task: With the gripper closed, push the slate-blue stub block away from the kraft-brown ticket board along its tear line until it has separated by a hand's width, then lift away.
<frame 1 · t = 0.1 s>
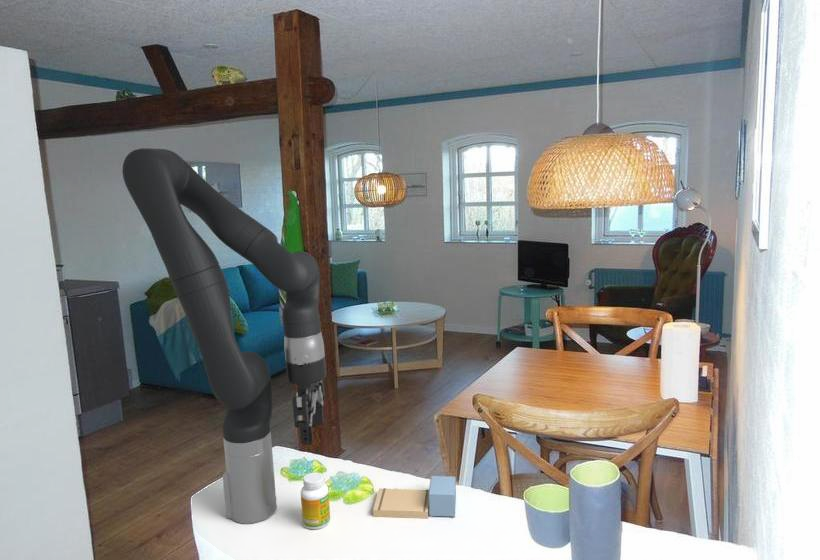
hand: (313, 433, 118), 17 cm above the counter, tool pointing down, fingers open, 8 cm apart
stub: (442, 495, 121), point 3 cm above the counter, slide at 0.0 cm
supplement bottle: (316, 523, 118), on the counter
ticket board: (402, 506, 122), on the counter
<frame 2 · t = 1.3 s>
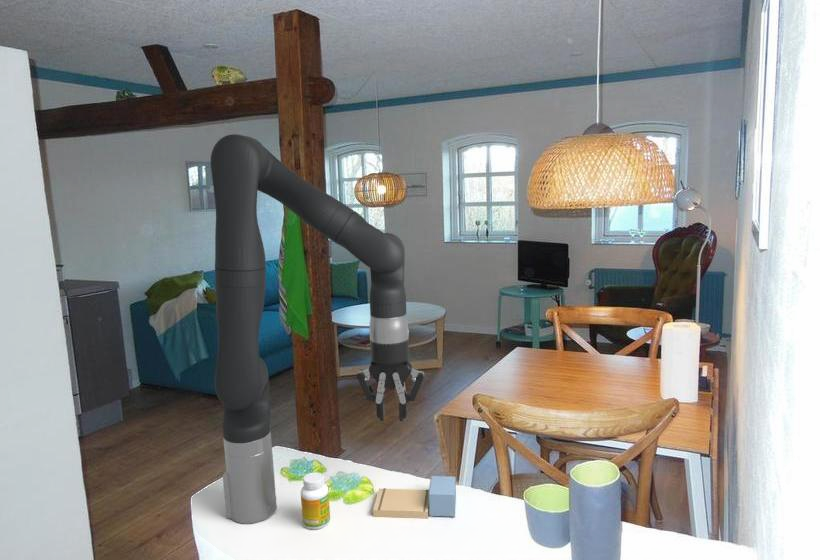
hand: (392, 419, 119), 19 cm above the counter, tool pointing down, fingers open, 3 cm apart
nothing on the counter moved.
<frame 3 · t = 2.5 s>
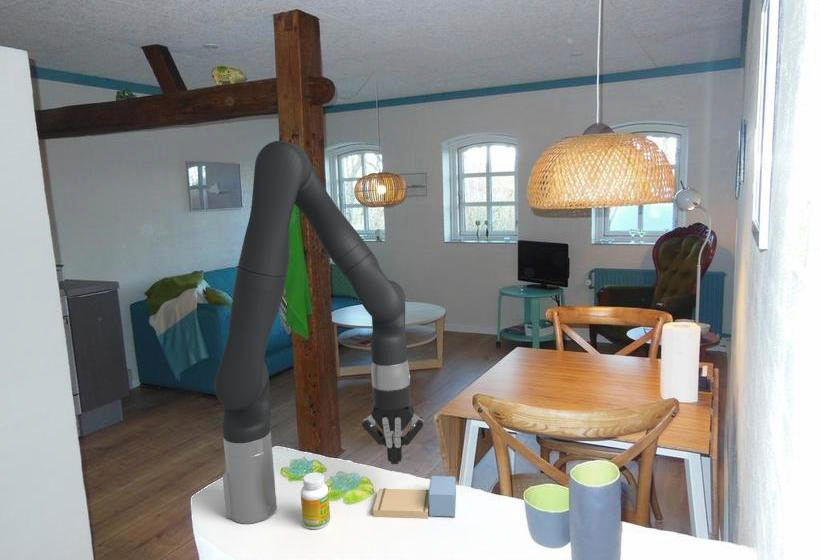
hand: (395, 462, 121), 10 cm above the counter, tool pointing down, fingers closed
nothing on the counter moved.
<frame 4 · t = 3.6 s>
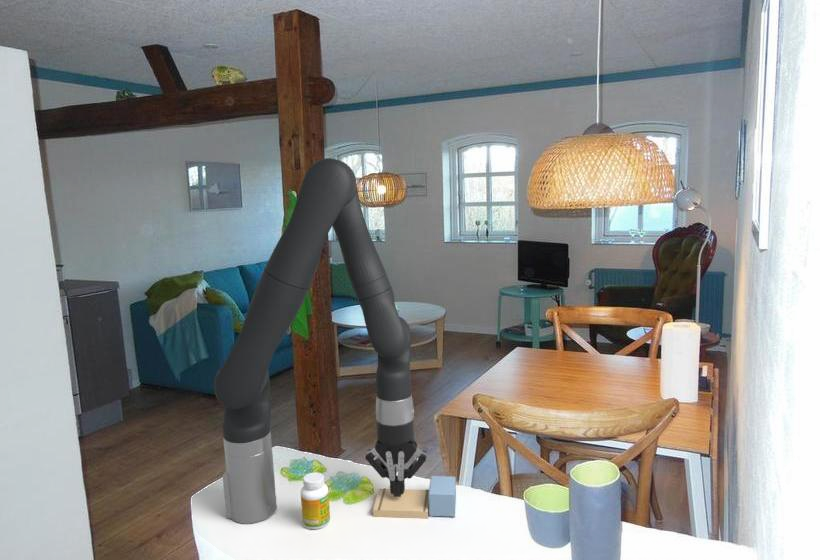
hand: (397, 494, 122), 3 cm above the counter, tool pointing down, fingers closed
nothing on the counter moved.
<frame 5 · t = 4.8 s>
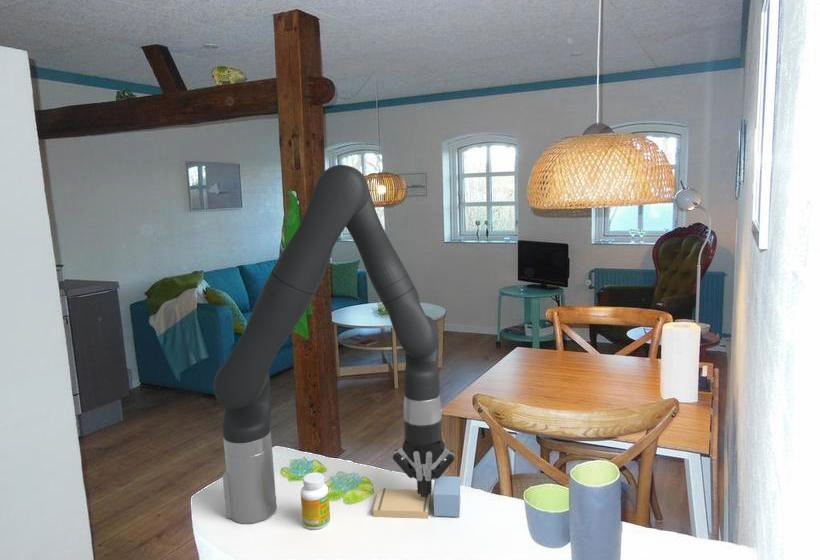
hand: (424, 495, 121), 3 cm above the counter, tool pointing down, fingers closed
stub: (446, 495, 121), point 3 cm above the counter, slide at 0.9 cm, touching gripper
everything else where it was.
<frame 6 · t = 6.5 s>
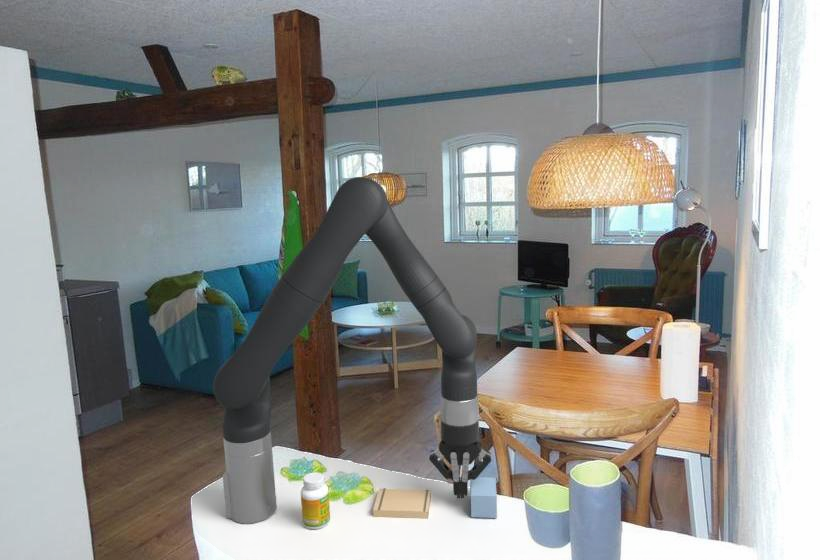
hand: (460, 496, 120), 3 cm above the counter, tool pointing down, fingers closed
stub: (483, 496, 120), point 3 cm above the counter, slide at 8.2 cm, touching gripper
everything else where it was.
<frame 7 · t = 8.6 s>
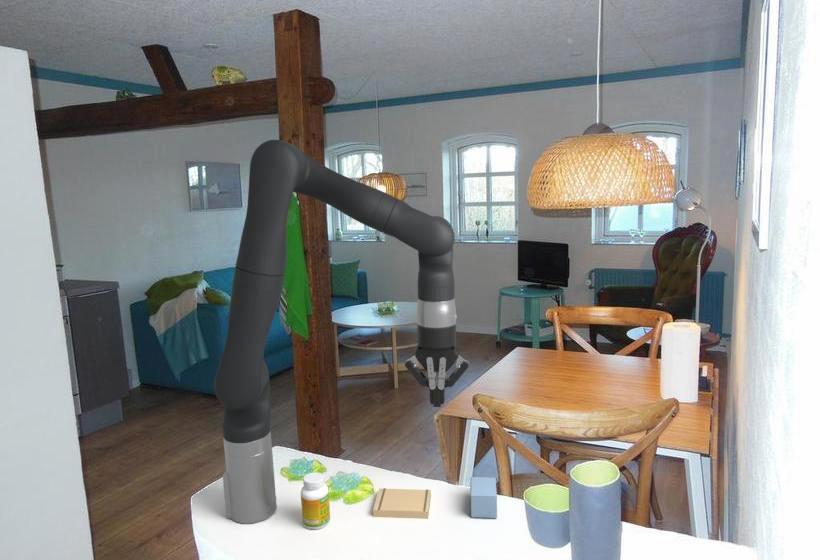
hand: (437, 405, 118), 22 cm above the counter, tool pointing down, fingers closed
stub: (483, 496, 120), point 3 cm above the counter, slide at 8.3 cm
everything else where it was.
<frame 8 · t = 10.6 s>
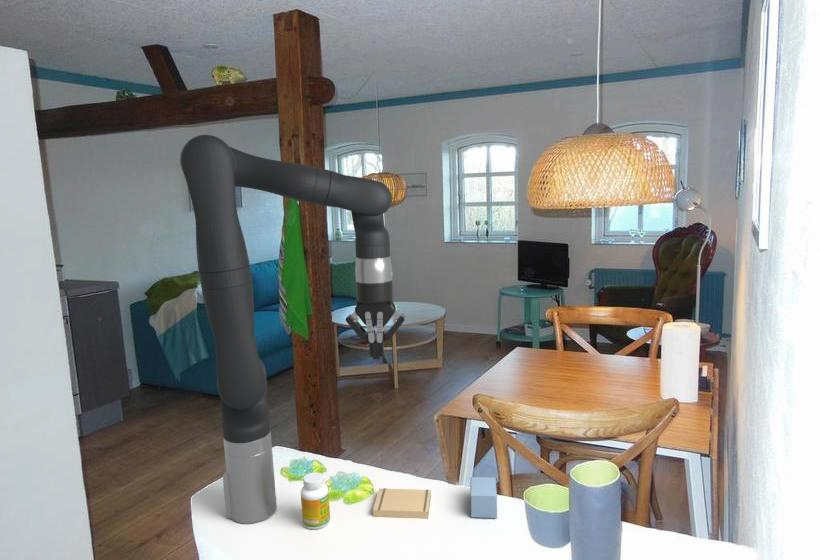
hand: (377, 358, 126), 29 cm above the counter, tool pointing down, fingers closed
nothing on the counter moved.
at the end: stub slide at 8.3 cm; the gripper is holding nothing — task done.
